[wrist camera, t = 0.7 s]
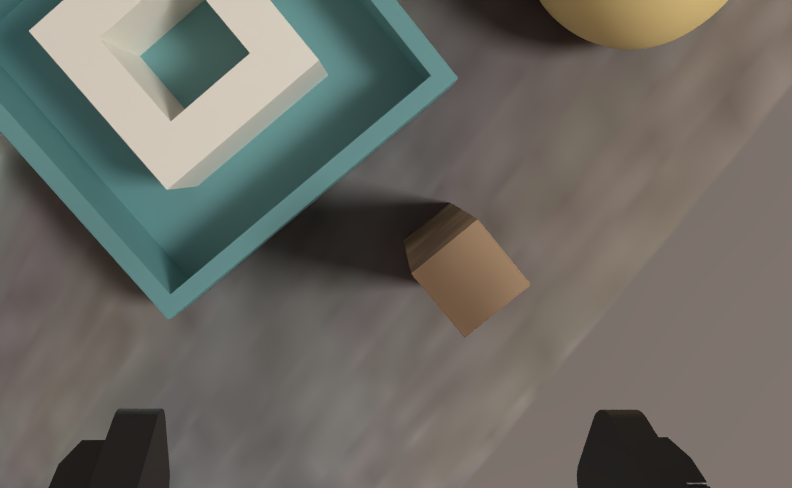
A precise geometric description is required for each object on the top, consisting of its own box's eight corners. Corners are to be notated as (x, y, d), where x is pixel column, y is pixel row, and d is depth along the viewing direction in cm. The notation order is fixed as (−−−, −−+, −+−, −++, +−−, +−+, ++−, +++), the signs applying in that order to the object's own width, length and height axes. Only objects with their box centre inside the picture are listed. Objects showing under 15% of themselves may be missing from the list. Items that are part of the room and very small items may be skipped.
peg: (449, 202, 39) (477, 219, 28) (487, 248, 40) (530, 284, 28) (403, 240, 40) (411, 273, 28) (441, 285, 40) (464, 337, 28)
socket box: (223, -197, 37) (191, -267, 31) (449, 88, 39) (461, 74, 33) (-40, 39, 38) (-120, 16, 32) (193, 302, 40) (159, 326, 34)
